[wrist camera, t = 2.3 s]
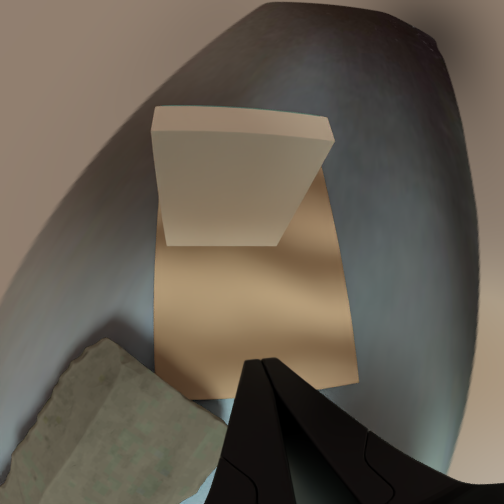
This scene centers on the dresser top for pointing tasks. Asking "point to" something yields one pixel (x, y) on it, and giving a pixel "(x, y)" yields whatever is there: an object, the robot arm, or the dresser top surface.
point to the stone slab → (114, 438)
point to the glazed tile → (234, 171)
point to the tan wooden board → (255, 306)
